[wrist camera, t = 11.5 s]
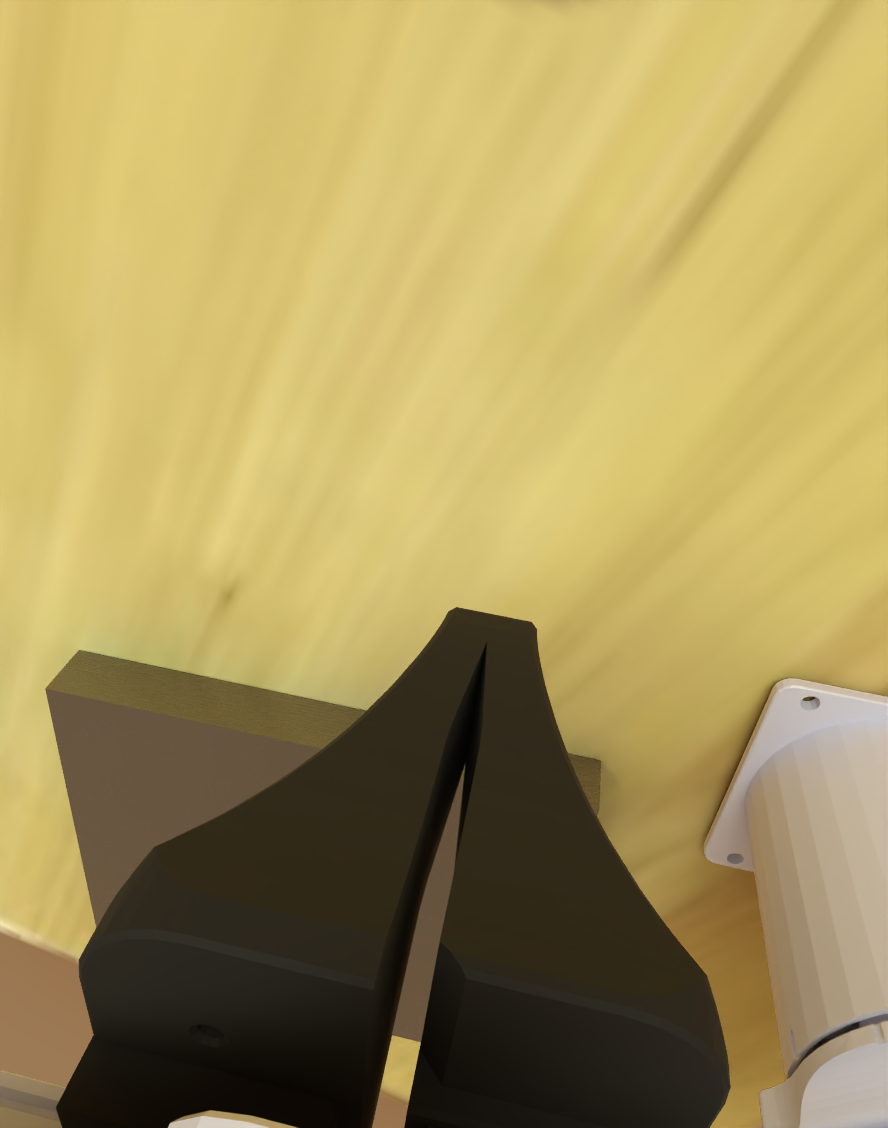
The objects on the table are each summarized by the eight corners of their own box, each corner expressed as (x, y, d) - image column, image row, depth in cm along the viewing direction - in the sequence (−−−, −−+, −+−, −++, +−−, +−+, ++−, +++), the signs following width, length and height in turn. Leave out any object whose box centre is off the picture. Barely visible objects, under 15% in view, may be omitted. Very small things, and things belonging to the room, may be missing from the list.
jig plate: (600, 760, 27) (598, 808, 25) (521, 1017, 36) (516, 1065, 34) (78, 650, 29) (45, 688, 27) (127, 922, 38) (104, 963, 36)
